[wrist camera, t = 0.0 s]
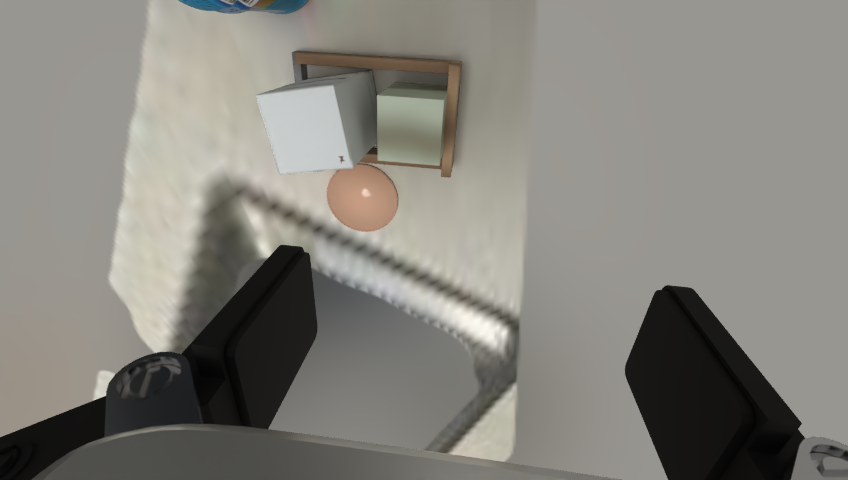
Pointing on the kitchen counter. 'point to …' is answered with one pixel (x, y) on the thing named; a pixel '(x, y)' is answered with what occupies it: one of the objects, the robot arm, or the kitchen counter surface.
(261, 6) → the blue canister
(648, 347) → the robot arm
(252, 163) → the kitchen counter surface
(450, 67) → the rack
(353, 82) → the supplement box
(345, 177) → the coaster
